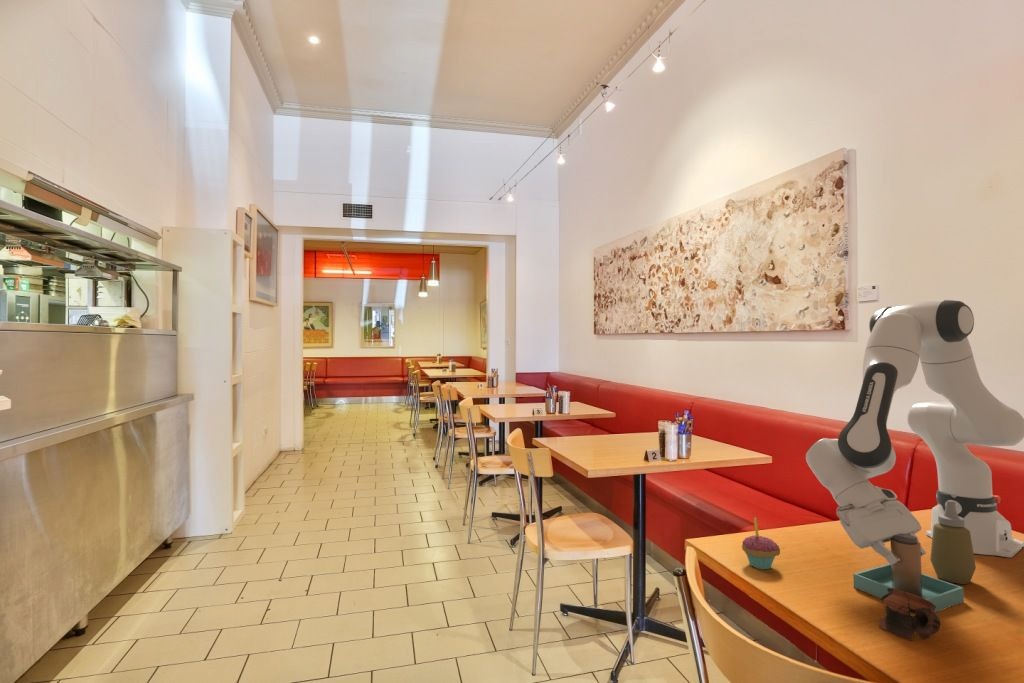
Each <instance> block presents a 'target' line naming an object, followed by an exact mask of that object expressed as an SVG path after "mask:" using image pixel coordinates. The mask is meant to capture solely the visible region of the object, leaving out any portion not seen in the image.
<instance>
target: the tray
mask: <svg viewBox="0 0 1024 683" xmlns="http://www.w3.org/2000/svg"><path fill="white" fill-rule="evenodd" d="M852 576H853V588H855V589H857V590H859V591H861V592H865V593H867V594H870V595H872V596H875V597H877V598H879V599H880V598H881V597H882V596H884V595H885V594H888V591H887V589H888V588H892V570H891V564H890V563H887V564H883V565H880V566H877V567H876V566H875V567H872V568H869V569H866V570H865V569H864V570H862V571H858V572H855V573H853V575H852ZM893 589H894V588H893ZM964 597H965V596H964V586H963V587H962V586H960V585H956V584H954V583H952V582H949V581H946V580H943V579H939V578H936V577H933V576H930V575H927V574H924V573H922V597H921V598H924V599H926V600H928V601H930V602H931V603H933V604H934V605H935V606H936V608H935V613H938V612H941V611H943V610H942V609H944V608H946V609H948V608H947V607H949V606H952V605H954V606H957V605H959V604H958V603H960V604H962V603H961V602H963V603H964V602H965V600H964ZM956 604H957V605H956ZM952 607H953V606H952ZM949 608H950V607H949ZM940 610H941V611H940ZM944 610H945V609H944ZM937 611H938V612H937Z"/></svg>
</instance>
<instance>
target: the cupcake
mask: <svg viewBox="0 0 1024 683" xmlns="http://www.w3.org/2000/svg"><path fill="white" fill-rule="evenodd" d="M753 523H754V530H755V531H754V532H755V533H754V535H750V536H747V537H746V538H745V537H744V539H743V540H742V545H741V548H742V549H741V550H742V551H743V552H744V553H745V554H746V557H747V560H748V564H749V565H750V566H751V565H752V566H754V567H756V568H755V569H757V568H759V569H758V570H763V569H767V570H769V569H771V568H772V565H773V563H774V560H775V558H776V556H779V555H780V554H781V548H780V546H779V545H778V544H777V542H775V541H774V540H773V539H771V538H769V537H765V536H761V535H760V534H759V527H758V518H756V515H755V514H754V518H753ZM752 566H751V567H752ZM754 567H753V568H754Z"/></svg>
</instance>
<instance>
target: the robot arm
mask: <svg viewBox="0 0 1024 683" xmlns="http://www.w3.org/2000/svg"><path fill="white" fill-rule="evenodd" d="M974 325H975V318H974V314H973V311H972V309H971V307H969V306H968V305H967V304H966V303H964V302H963V301H961V300H953V299H952V300H951V299H949V300H948V299H945V300H943V301H938V300H937V301H920V302H919V301H918V302H914V303H908V304H907V303H906V304H902V305H897V306H886V307H883V308H881V309H878V310H876V311H875V312H874V313H873V314H872V316H871V317H870V318H869V325H868V327H869V328H868V329H869V332H870V335H869V337H868V340H867V343H866V347H865V349H864V355H863V356H864V357H863V360H862V361H863V363H862V384H861V389H860V391H859V396H858V398H857V399H858V400H857V402H856V406H855V409H854V412H853V414H852V417H851V419H850V420H849V421H848V422H847V424H846V425H845V426H844V427H843V428H842V429H841V431H840V433H839V435H838V438H827V437H823V438H821V439H819V440H816V441H815V442H814V443H813V444H811V446H809V448H808V450H807V451H806V453H805V460H806V463H807V465H808V467H809V468H810V470H811V472H812V473H813V474H814V476H815V477H816V478H817V480H818V481H819V482H820V484H821V485H822V486H823V487H824V488H826V489H827V490H828V491H829V492H830V494H831V495H832V498H833V499H834V501H835V502H836V503H837V505H838V506H837V508H836V516H837V517H838V518H839V521H840V525H841V527H842V528H843V530H844V531H845V533H846V534H847V535H848V538H850V540H851V541H852V543H853V544H854V545H855V546H856V547H858V548H859V549H865V548H869V547H871V548H872V550H874V552H876V553H877V554H878V555H879V556H882V557H883V558H884V559H885V560H886V561H887V562H888V564H896V563H898V562H899V561H900V558H899V557H898V556H897V555H896V553H892V552H891V549H888V548H887V547H886V544H885V543H889V542H891V540H890V539H891V538H892V537H893V535H897V534H908V535H912V536H914V537H916V538H917V541H918V542H919V543H920V541H919V538H918V536H917V535H916V534H917V533H918V532H920V531H921V530H922V526H921V523H920V522H919V520H918V519H917V518H916V517H915V516H914V515H913V513H912V511H910V510H909V509H908V508H907V506H906V505H905V504H903V503H902V502H901V501H900V500H898V495H897V494H896V493H895V491H893V490H892V489H887V488H882V487H880V486H877V485H873V484H872V483H871V482H870V480H869V479H872V478H876V477H879V476H881V475H883V474H886V473H888V472H890V471H892V469H893V468H894V467H895V464H896V462H897V454H896V451H895V448H894V447H893V444H892V442H891V437H890V434H889V431H888V428H887V426H888V425H887V423H888V419H889V414H890V410H891V405H892V403H893V398H894V396H895V393H896V391H897V390H900V389H902V388H905V387H907V386H908V385H910V384H911V382H912V380H913V378H914V377H915V375H916V373H917V372H916V371H917V369H918V366H919V361H920V365H921V368H922V372H923V376H924V380H925V383H926V385H927V386H928V388H929V389H930V390H931V391H933V392H935V393H936V394H938V395H940V396H941V397H944V399H945V398H946V400H948V401H942V400H941V401H940V400H931V401H930V400H929V401H921V402H917V403H914V404H913V405H911V407H910V409H909V410H908V412H907V415H906V416H907V419H906V420H907V424H908V426H909V428H910V430H911V431H912V432H913V433H914V434H915V435H917V436H918V437H919V438H921V439H922V441H923V442H924V443H925V444H926V446H928V448H929V449H930V451H931V453H932V455H933V457H934V461H935V463H936V470H937V471H936V472H937V482H938V483H937V484H938V489H936V494H935V496H936V502H937V504H936V505H935V506H934V507H932V510H931V521H930V522H931V524H930V530H926V532H925V535H926V536H928V537H930V538H931V539H932V536H933V526H934V525H935V524H936V523H939V522H938V515H940V514H944V512H945V508H946V504H947V501H953V502H954V504H955V508H956V511H957V514H958V516H959V517H962V518H963V519H964V527H965V528H967V529H968V530H969V531H970V535H971V541H972V547H973V553H974V555H975V554H976V555H986V556H997V557H998V556H999V557H1003V558H1013V557H1014V556H1015V555H1016V554H1018V552H1019V551H1021V549H1023V548H1024V541H1022V540H1019V539H1017V538H1014V537H1013V535H1012V534H1013V533H1012V532H1013V531H1012V524H1011V523H1010V521H1009V520H1007V519H1006V518H1005V517H1004V516H1003V515H1002V514H1001V513H1000V512H999V511H997V510H998V506H997V504H1000V503H1001V500H1002V499H1001V496H1000V495H994V494H993V479H992V478H993V475H992V473H993V472H992V469H991V467H990V466H989V464H988V463H986V461H984V460H982V459H981V458H979V457H977V456H975V455H974V454H973V453H972V452H971V451H970V450H969V447H968V446H967V444H971V445H978V446H986V447H1012V446H1016V445H1018V444H1019V443H1020V442H1021V441H1023V439H1024V417H1023V415H1022V414H1021V413H1019V411H1017V409H1015V408H1012V407H1010V406H1008V405H1006V404H1005V403H1003V402H1002V401H1000V400H999V399H998V398H997V397H995V395H993V393H991V391H990V390H989V389H988V388H987V387H986V386H985V384H984V383H983V381H982V379H981V377H980V374H979V371H978V368H977V364H976V362H975V361H976V360H975V357H974V354H973V350H972V347H971V343H970V340H969V338H968V337H969V336H970V335H971V333H972V332H973V330H974ZM1022 547H1023V548H1022ZM926 553H927V551H926V550H925V549H924V548H923V547H922V546H921V557H923V556H924V555H926Z"/></svg>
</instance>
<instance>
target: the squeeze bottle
mask: <svg viewBox="0 0 1024 683" xmlns="http://www.w3.org/2000/svg"><path fill="white" fill-rule="evenodd" d="M938 522H939V523H936V524H935V525H934V526H933V536H932V538H931V546H930V547H931V548H930V562H931V565H932V568H933V570H934V573H935V575H936V576H937V577H938V579H939V578H940V580H942V581H945V582H948V583H952V584H954V583H955V584H960V585H961V584H962V585H966V584H969V583H971V580H972V578H973V576H974V573H975V572H976V569H977V568H976V567H977V566H976V560H975V553H973V547H972V541H971V535H970V531H969V530H968V529H967V528H965V527H964V519H963V518H962V517H959V516H958V514H957V511H956V508H955V504H954V502H953V501H947V504H946V508H945V512H944V514H940V515H938Z"/></svg>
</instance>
